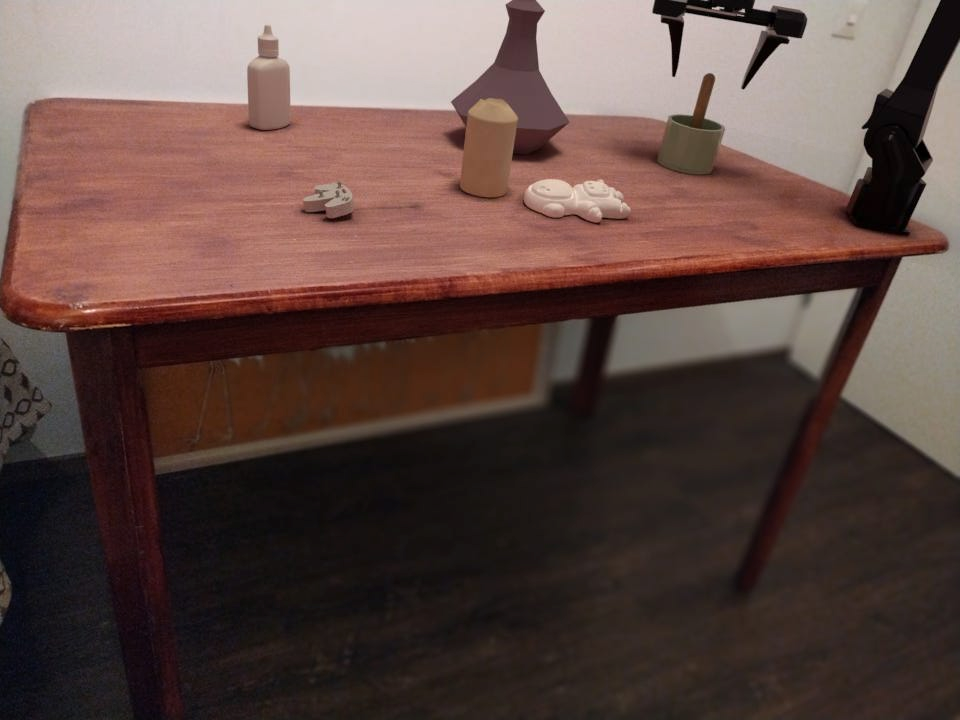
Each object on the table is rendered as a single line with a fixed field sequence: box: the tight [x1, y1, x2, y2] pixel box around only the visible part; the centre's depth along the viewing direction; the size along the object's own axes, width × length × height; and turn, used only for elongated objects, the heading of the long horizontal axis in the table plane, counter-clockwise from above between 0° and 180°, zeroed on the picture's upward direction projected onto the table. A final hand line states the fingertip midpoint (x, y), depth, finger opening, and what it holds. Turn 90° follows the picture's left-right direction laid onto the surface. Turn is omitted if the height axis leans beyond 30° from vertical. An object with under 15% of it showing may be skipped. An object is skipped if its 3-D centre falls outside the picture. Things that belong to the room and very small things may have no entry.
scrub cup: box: [656, 113, 726, 176], centre depth 103 cm, size 8×8×6 cm
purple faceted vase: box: [450, 0, 570, 155], centre depth 97 cm, size 16×16×20 cm
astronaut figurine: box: [523, 178, 631, 224], centre depth 83 cm, size 9×12×3 cm
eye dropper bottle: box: [246, 24, 291, 131], centre depth 92 cm, size 4×6×12 cm
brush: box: [690, 72, 716, 129], centre depth 101 cm, size 4×4×12 cm
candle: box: [459, 98, 518, 198], centre depth 82 cm, size 6×6×10 cm
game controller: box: [302, 180, 418, 219], centre depth 75 cm, size 6×12×3 cm, turn 132°
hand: (707, 82), depth 98 cm, fingers open, 9 cm apart
